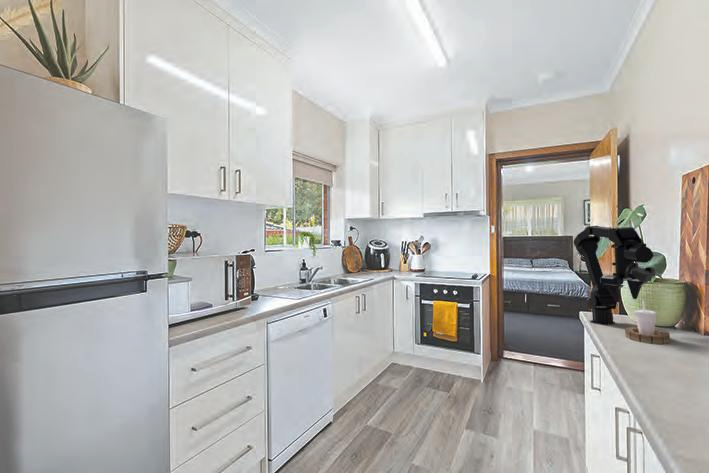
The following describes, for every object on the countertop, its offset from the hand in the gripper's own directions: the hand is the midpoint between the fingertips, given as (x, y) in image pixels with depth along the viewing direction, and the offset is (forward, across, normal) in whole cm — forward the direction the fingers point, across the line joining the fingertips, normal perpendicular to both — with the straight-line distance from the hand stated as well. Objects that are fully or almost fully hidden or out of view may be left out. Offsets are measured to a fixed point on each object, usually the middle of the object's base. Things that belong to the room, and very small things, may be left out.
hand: (626, 300), depth 127 cm
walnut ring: (+12, 0, -7) cm, 14 cm away
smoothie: (+13, 0, -7) cm, 14 cm away
